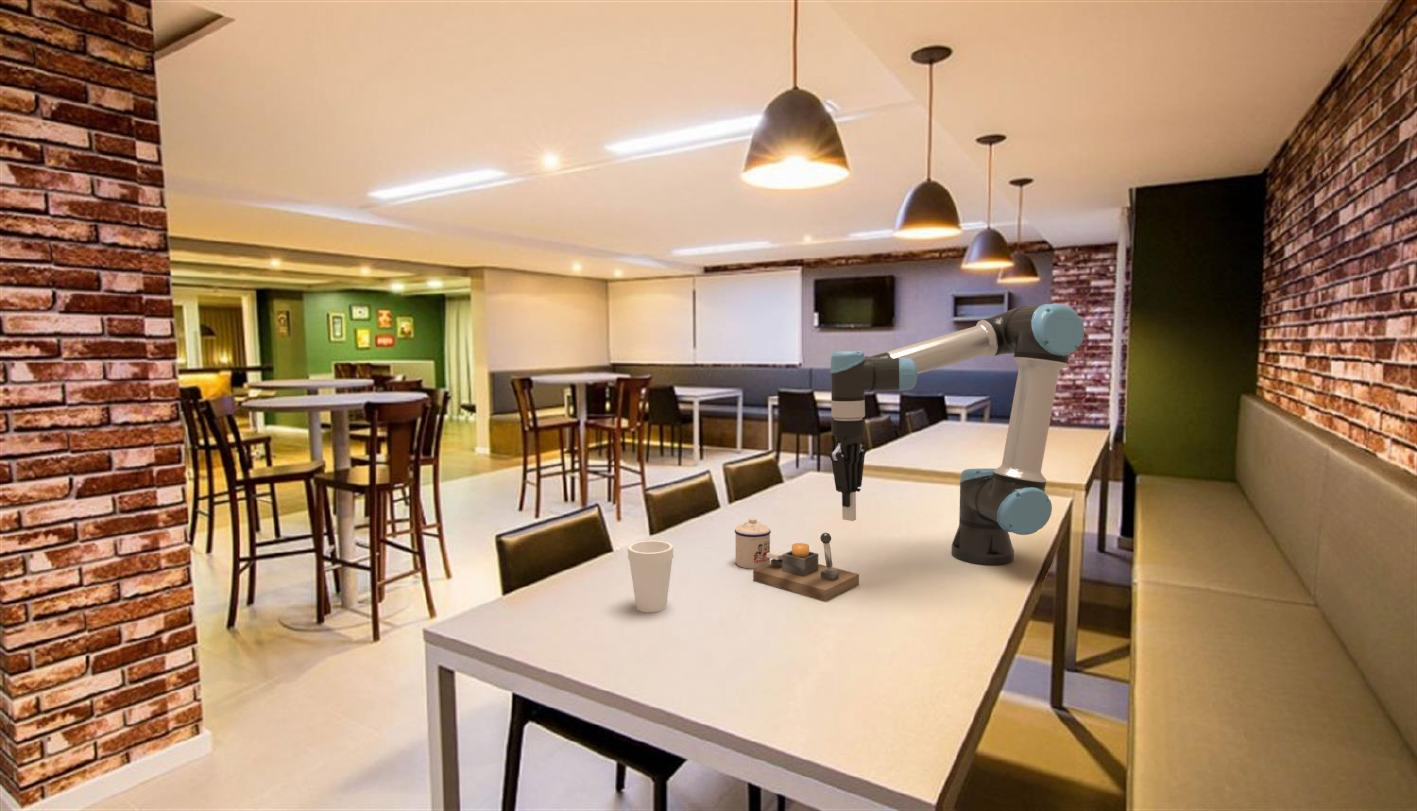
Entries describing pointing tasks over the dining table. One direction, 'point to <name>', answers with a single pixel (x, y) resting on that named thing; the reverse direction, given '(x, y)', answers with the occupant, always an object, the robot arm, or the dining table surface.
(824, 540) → the toggle lever
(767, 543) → the teacup with lid
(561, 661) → the dining table surface
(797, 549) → the push button
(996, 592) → the dining table surface
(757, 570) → the switch panel
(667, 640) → the dining table surface
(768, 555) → the rocker switch
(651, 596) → the foam cup
